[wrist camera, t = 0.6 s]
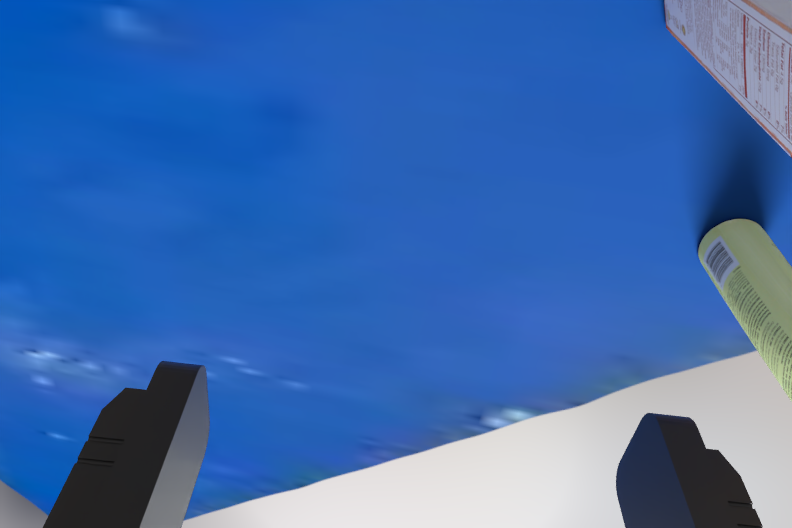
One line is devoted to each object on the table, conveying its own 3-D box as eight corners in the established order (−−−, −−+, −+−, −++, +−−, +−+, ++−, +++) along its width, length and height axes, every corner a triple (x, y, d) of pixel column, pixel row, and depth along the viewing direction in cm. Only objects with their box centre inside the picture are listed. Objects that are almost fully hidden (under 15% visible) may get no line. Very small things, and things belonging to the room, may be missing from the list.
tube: (784, 241, 51) (948, 450, 35) (730, 284, 54) (860, 497, 38) (734, 204, 49) (884, 407, 34) (680, 250, 52) (796, 460, 36)
